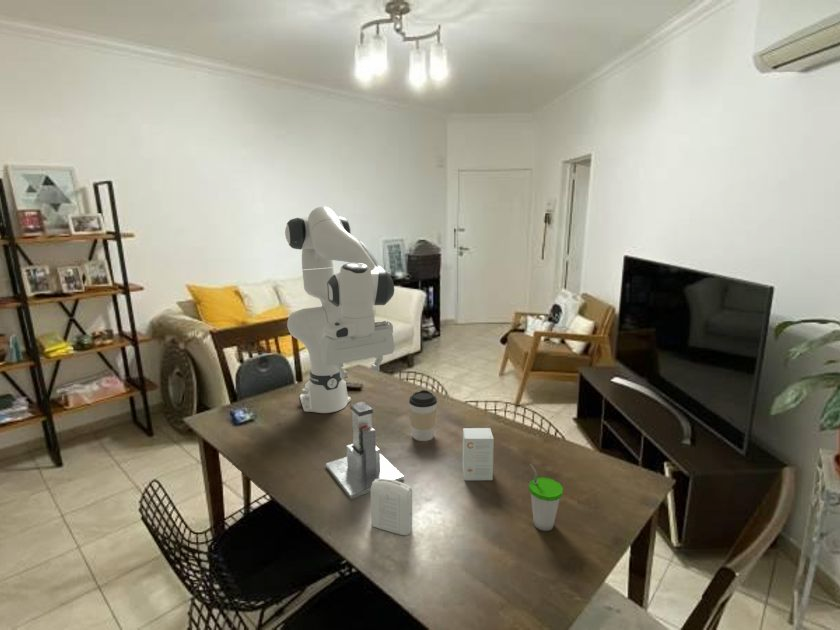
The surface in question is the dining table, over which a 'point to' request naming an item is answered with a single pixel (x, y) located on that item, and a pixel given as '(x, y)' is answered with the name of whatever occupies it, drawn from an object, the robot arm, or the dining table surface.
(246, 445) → the dining table surface
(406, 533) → the photo printer
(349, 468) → the stand base
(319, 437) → the dining table surface
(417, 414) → the coffee cup
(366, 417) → the column
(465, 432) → the small box
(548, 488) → the cup
